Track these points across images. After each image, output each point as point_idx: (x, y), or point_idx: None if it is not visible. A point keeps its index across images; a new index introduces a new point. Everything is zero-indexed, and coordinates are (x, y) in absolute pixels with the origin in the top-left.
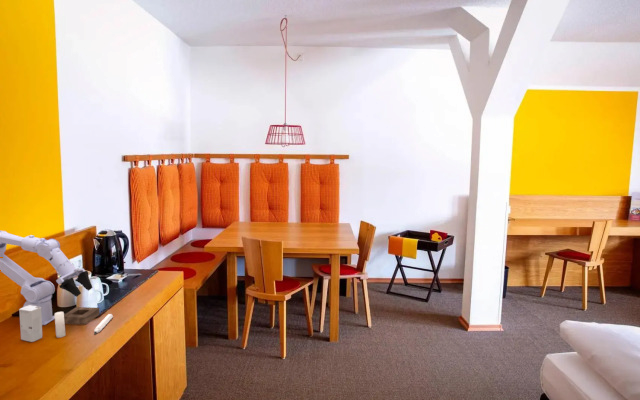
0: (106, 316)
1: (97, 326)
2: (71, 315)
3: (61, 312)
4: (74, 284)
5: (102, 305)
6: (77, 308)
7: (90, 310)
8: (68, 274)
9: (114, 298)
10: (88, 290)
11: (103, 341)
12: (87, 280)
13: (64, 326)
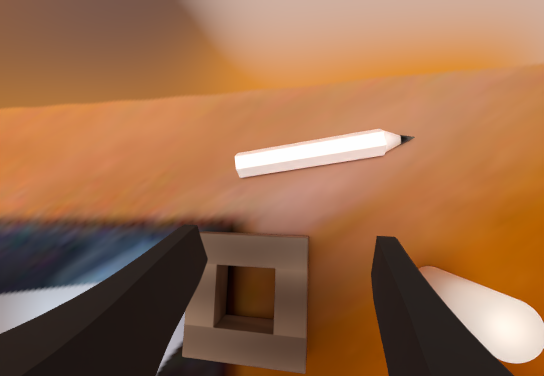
0: (261, 164)
1: (369, 144)
2: (285, 324)
3: (493, 317)
4: (453, 348)
5: (114, 270)
6: (199, 341)
7: (223, 258)
8: None
9: (46, 256)
10: (206, 257)
11: (462, 71)
12: (135, 288)
13: (445, 275)
